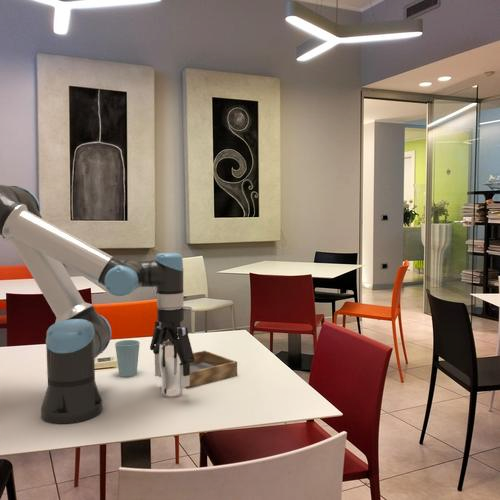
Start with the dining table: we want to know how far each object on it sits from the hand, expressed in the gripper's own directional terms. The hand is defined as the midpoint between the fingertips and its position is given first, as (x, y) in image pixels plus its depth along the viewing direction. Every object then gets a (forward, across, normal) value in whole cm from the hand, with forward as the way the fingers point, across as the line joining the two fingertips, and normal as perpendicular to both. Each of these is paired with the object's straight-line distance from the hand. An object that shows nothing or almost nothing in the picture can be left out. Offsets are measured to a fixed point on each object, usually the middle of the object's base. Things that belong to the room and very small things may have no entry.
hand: (171, 380), depth 148 cm
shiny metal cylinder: (+4, 0, 0) cm, 4 cm away
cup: (+4, +25, +1) cm, 25 cm away
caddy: (+4, +10, -15) cm, 19 cm away
